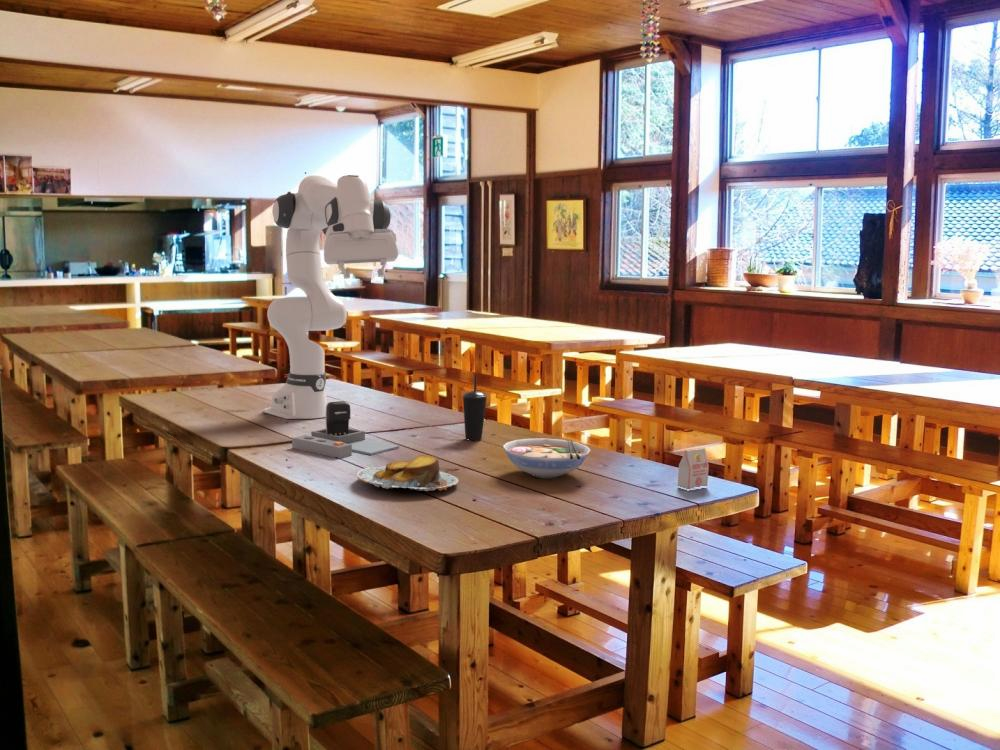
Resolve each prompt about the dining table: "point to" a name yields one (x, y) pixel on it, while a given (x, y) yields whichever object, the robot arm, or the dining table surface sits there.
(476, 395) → the drinking cup
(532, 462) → the ramen bowl
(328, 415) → the battery charger
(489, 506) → the dining table surface
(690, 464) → the white milk carton
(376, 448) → the slate mat
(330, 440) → the charging station
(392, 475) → the food on plate
